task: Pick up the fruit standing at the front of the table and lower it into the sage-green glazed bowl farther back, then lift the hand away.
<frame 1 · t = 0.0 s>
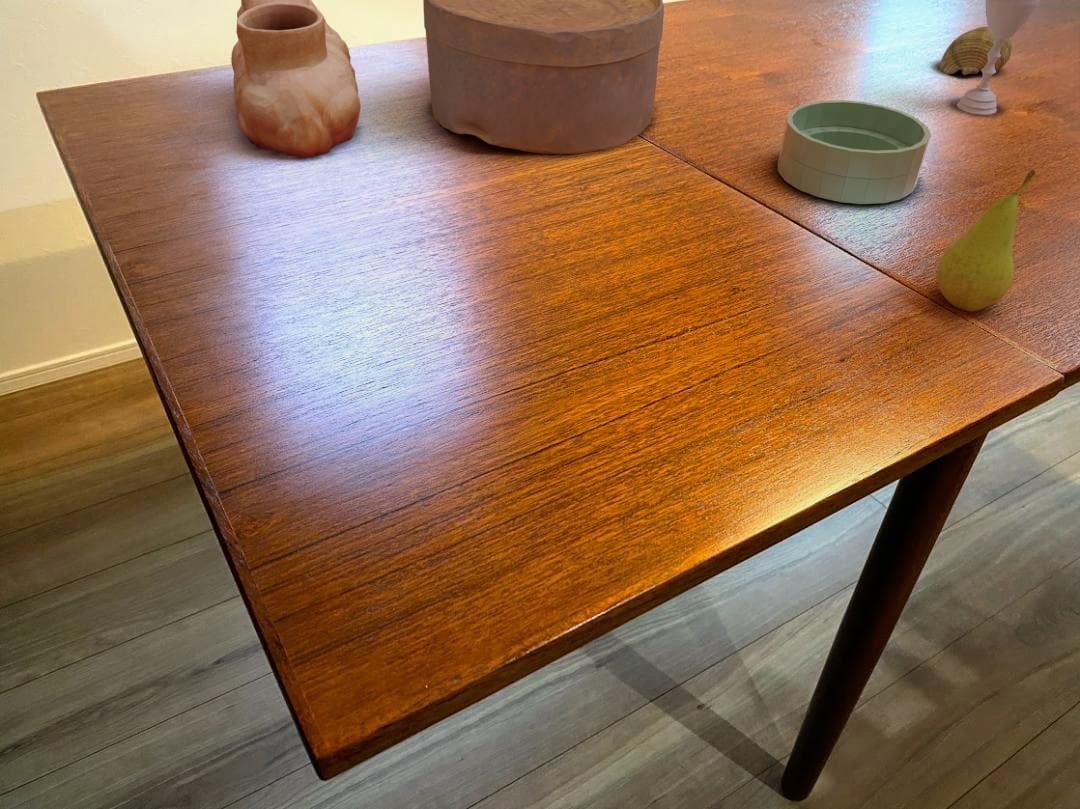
fruit: (962, 308, 75), on the table
chalice: (975, 111, 111), on the table
container: (542, 116, 108), on the table
ceramic vessel: (300, 121, 106), on the table
bowl: (844, 179, 94), on the table
seashell: (969, 74, 122), on the table
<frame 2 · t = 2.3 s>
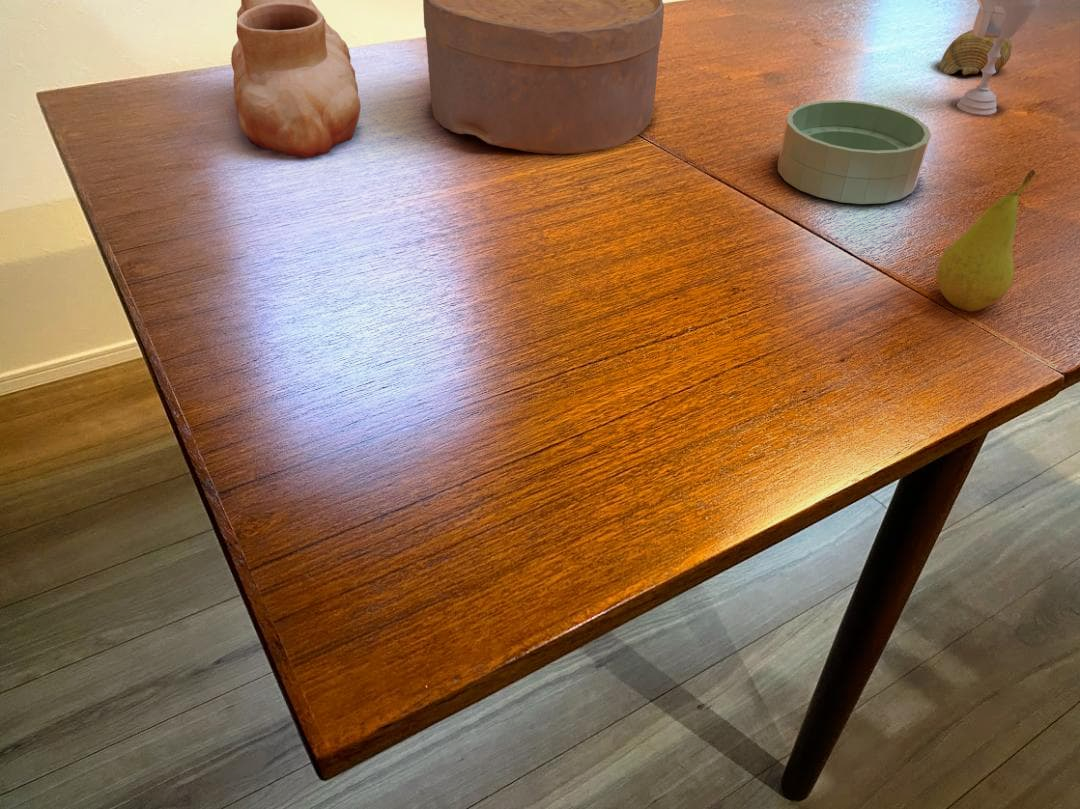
hand: (1055, 41, 62), 22 cm above the table, tool pointing down, fingers open, 8 cm apart
nothing on the table moved.
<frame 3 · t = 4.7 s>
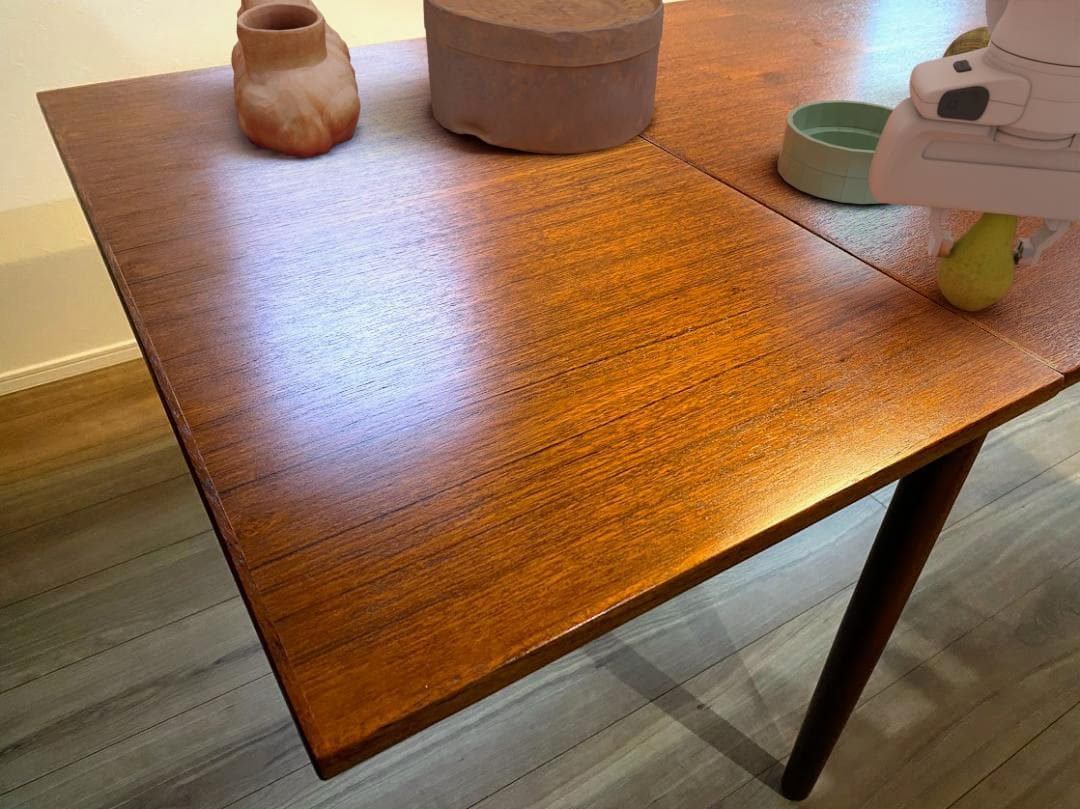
hand: (979, 258, 72), 5 cm above the table, tool pointing down, fingers closed on fruit, 5 cm apart
fruit: (962, 308, 75), on the table, touching gripper
everything else where it was.
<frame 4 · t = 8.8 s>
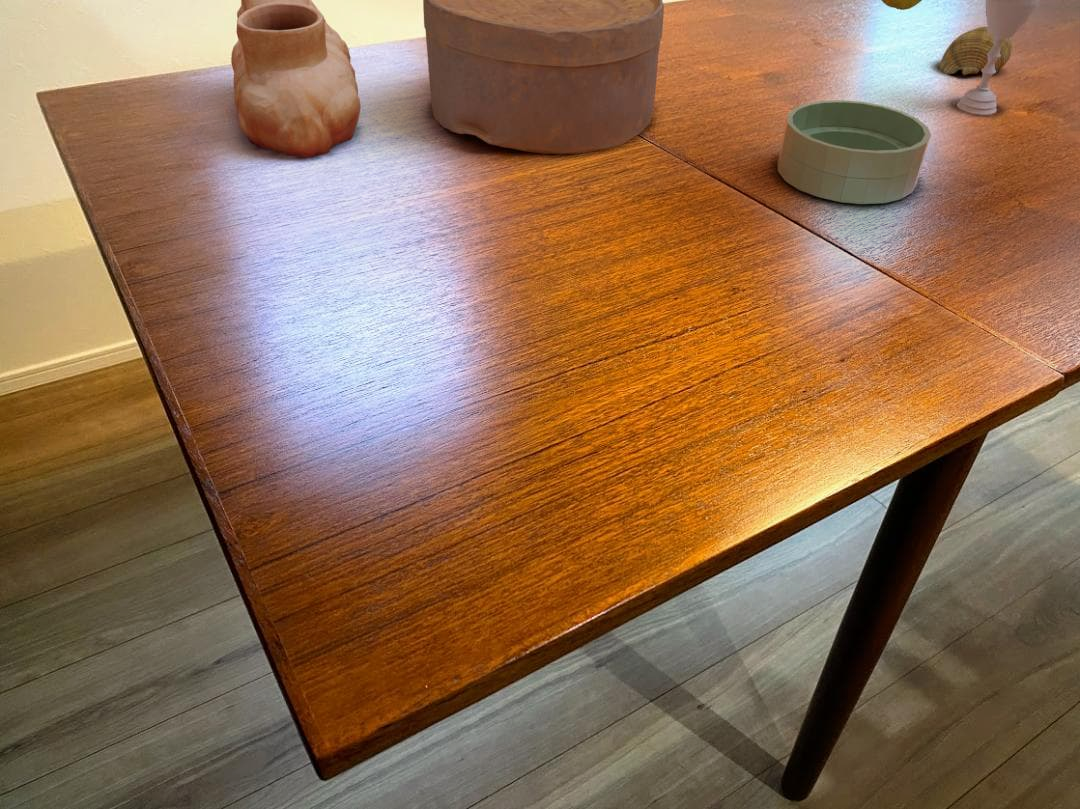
fruit: (896, 10, 82), point 18 cm above the table, touching gripper
everything else where it was.
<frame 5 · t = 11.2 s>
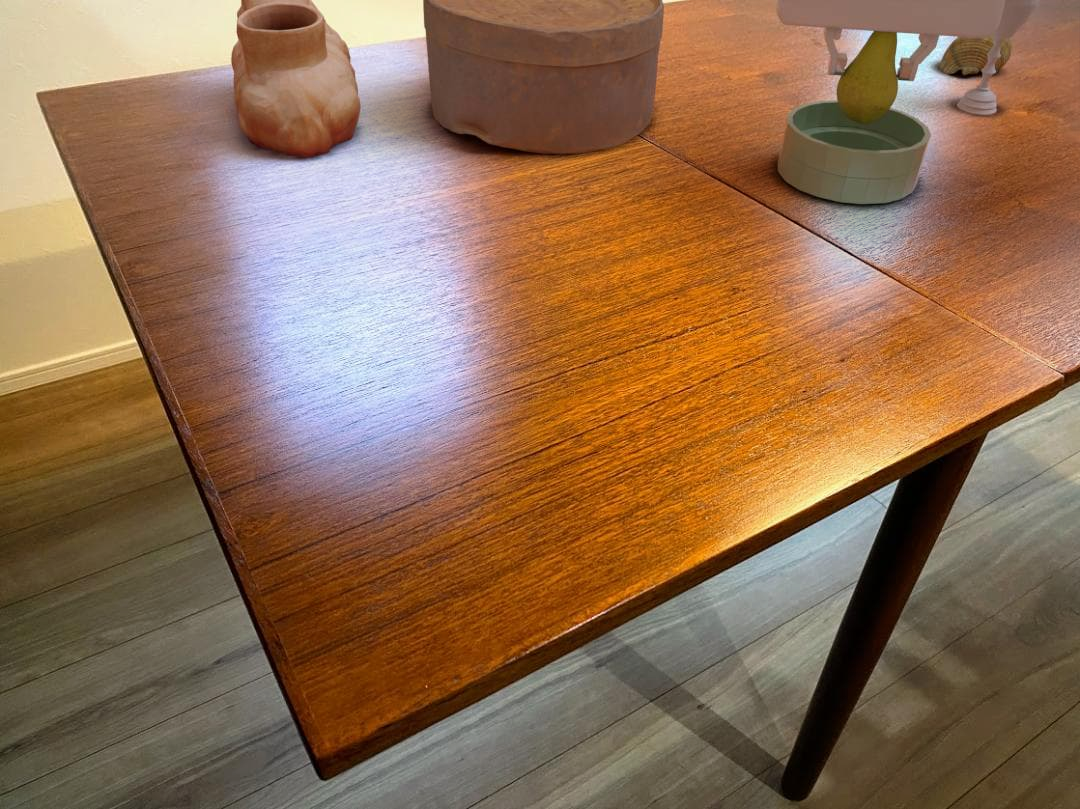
hand: (869, 76, 88), 11 cm above the table, tool pointing down, fingers closed on fruit, 5 cm apart
fruit: (858, 123, 91), point 6 cm above the table, touching gripper
everything else where it was.
when the fingers open (5 cm above the table, at t = 13.2 s): fruit stays where it is, resting on bowl.
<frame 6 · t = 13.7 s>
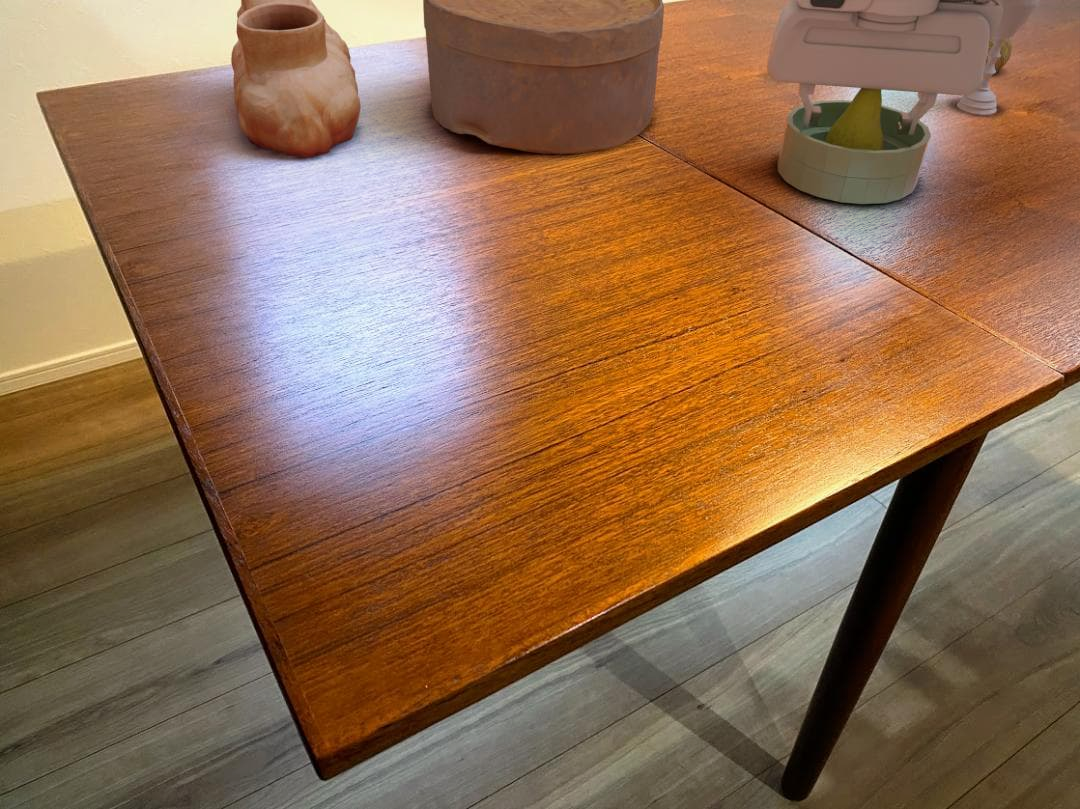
hand: (856, 129, 91), 6 cm above the table, tool pointing down, fingers open, 8 cm apart
fruit: (846, 176, 94), resting on bowl
everything else where it was.
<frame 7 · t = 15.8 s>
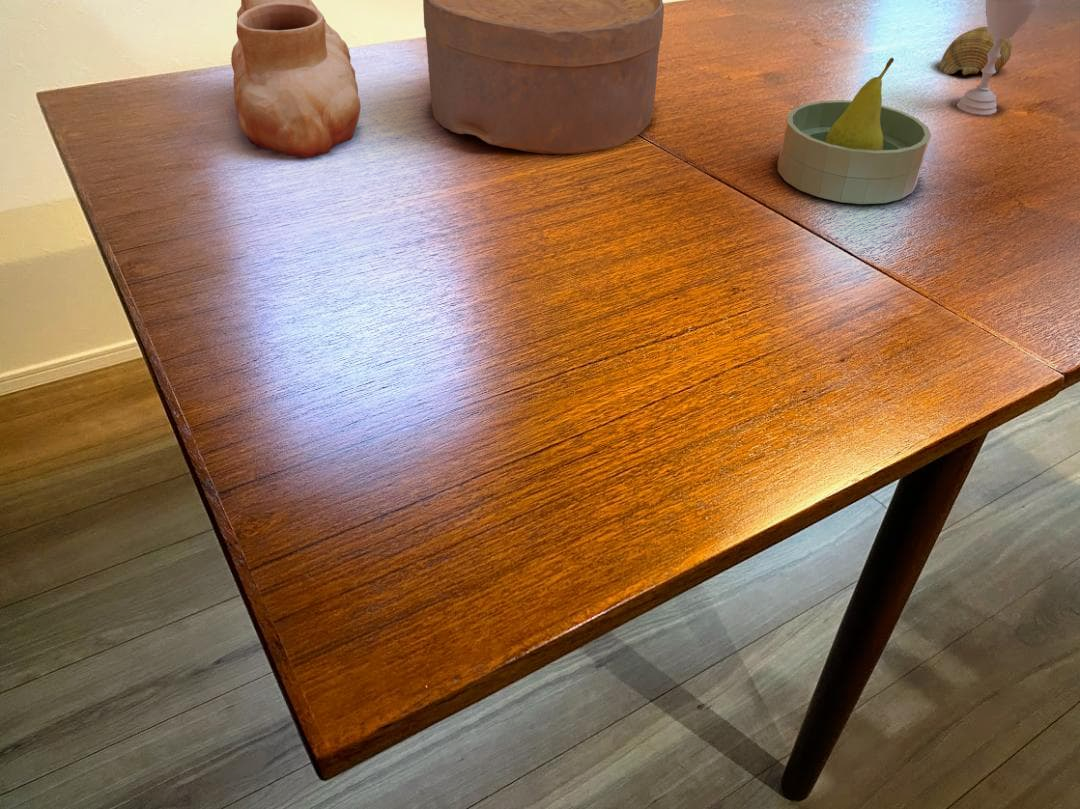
nothing on the table moved.
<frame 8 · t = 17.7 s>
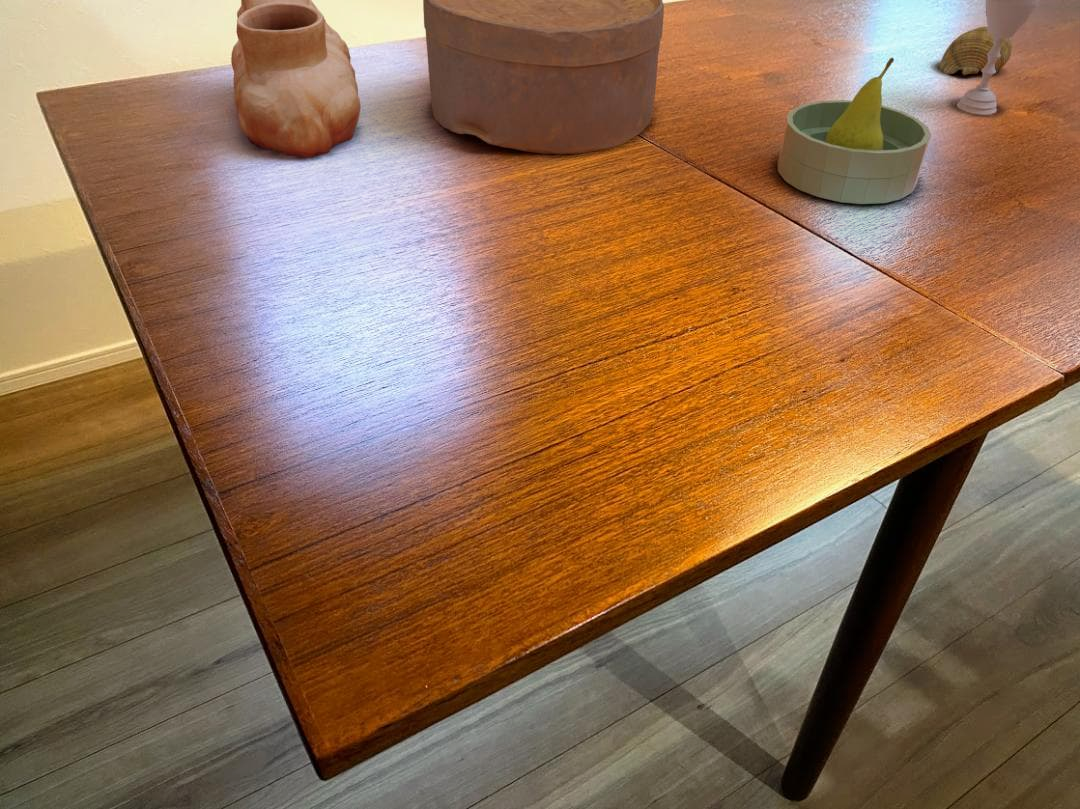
nothing on the table moved.
at the end: fruit inside the target area in the bowl (0.1 cm from its centre), point 0.4 cm above the bowl's base; the gripper is holding nothing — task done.
